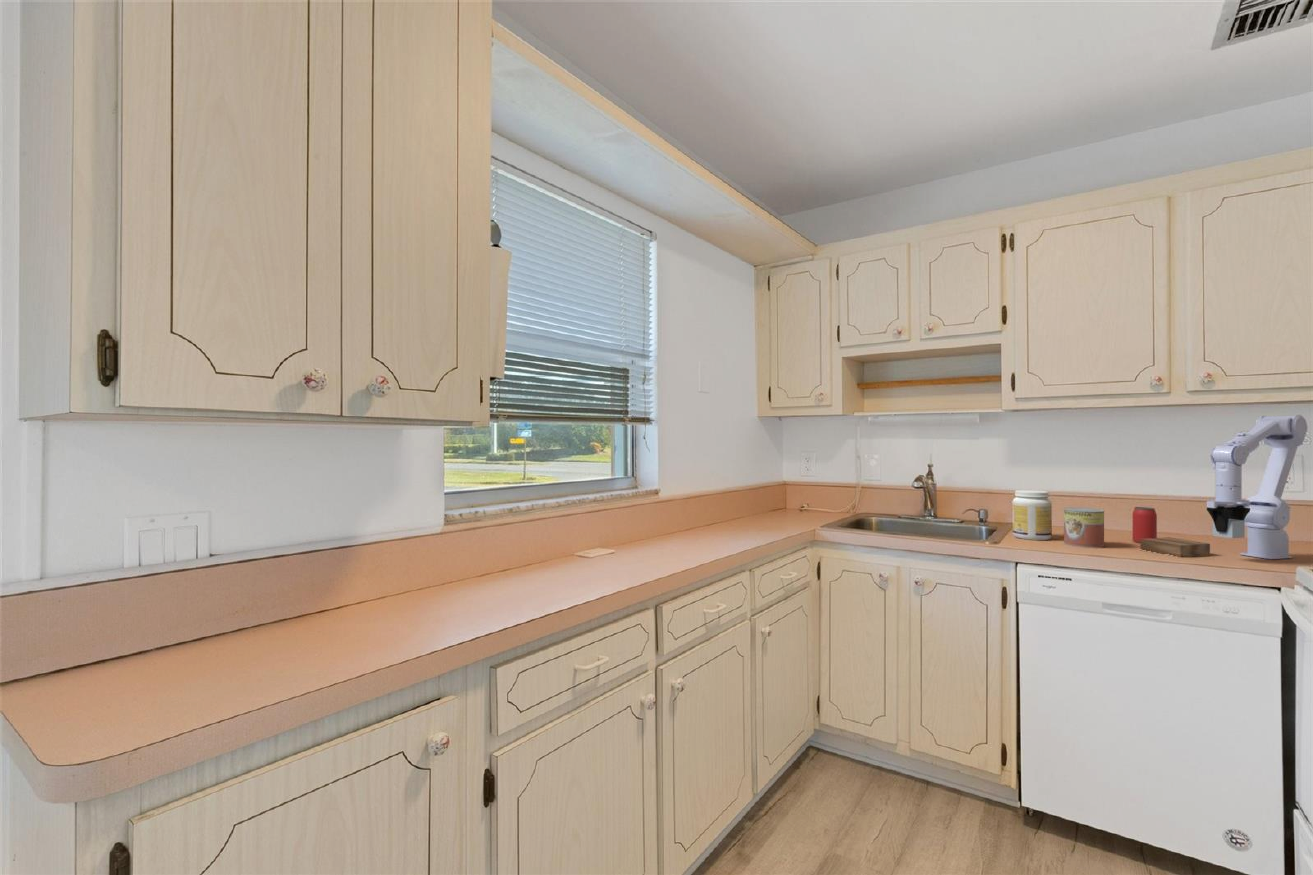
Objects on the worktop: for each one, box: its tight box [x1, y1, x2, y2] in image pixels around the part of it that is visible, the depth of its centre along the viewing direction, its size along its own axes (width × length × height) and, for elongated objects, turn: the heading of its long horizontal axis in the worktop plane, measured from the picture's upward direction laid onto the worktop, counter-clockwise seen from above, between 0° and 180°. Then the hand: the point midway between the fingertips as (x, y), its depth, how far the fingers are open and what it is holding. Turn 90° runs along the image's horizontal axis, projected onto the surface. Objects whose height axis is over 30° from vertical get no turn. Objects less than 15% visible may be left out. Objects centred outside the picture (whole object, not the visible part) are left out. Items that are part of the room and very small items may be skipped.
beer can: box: [1132, 506, 1158, 544], centre depth 211 cm, size 7×7×12 cm
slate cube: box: [1212, 519, 1246, 539], centre depth 181 cm, size 5×5×5 cm
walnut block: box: [1139, 536, 1211, 558], centre depth 193 cm, size 12×12×4 cm
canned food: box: [1063, 507, 1105, 549], centre depth 207 cm, size 11×11×12 cm
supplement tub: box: [1011, 489, 1053, 541], centre depth 221 cm, size 12×12×17 cm
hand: (1228, 531), depth 181 cm, fingers closed on slate cube, 5 cm apart
